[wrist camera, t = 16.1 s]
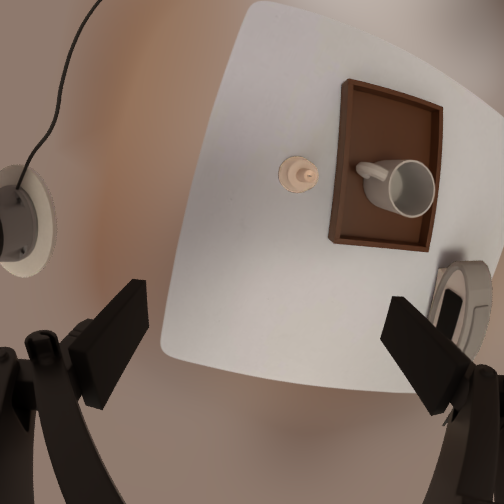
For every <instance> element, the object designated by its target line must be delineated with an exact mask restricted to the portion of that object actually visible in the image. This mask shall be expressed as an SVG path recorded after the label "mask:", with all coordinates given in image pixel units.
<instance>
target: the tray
mask: <svg viewBox="0 0 504 504" xmlns="http://www.w3.org/2000/svg"><path fill="white" fill-rule="evenodd" d="M442 139H443V107H442V106H439V105H436V104H434V103H431V102H428V101H425V100H423V99H420V98H417V97H414V96H411V95H408V94H405V93H402V92H398V91H395V90H392V89H388V88H385V87H381V86H377V85H374V84H370V83H366V82H362V81H357V80H353V79H347V80H346V81H345V82H344V83H343V84H342V87H341V109H340V126H339V140H338V153H337V164H336V175H335V185H334V194H333V203H332V211H331V219H330V227H329V234H328V238H329V239H330V240H331V241H332V242H333V243H335V244H346V245H357V246H368V247H379V248H389V249H400V250H410V251H420V252H429V247H430V242H431V237H432V231H433V225H434V219H435V213H436V206H437V198H438V190H439V181H440V171H441V158H442ZM383 160H416V161H419V162H421V163H423V164H424V165H425V166H426V167H427V168H428V169H429V171H430V172H431V174H432V176H433V179H434V183H435V196H434V200H433V202H432V204H431V206H430V208H429V209H428V210H427V211H426V213H424V214H423V215H421V216H419V217H415V218H409V217H406V216H403V215H400V214H397V213H394V212H391V211H388V210H385V209H382V208H380V207H377V206H375V205H374V204H372V203H371V202H370V201H369V199H368V198H367V196H366V194H365V192H364V187H363V180H364V177H362V176H361V175H359V174H358V173H357V171H356V165H358V164H359V163H360V162H369V163H376V162H378V161H383Z"/></svg>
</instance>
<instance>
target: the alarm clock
mask: <svg viewBox="0 0 504 504" xmlns="http://www.w3.org/2000/svg"><path fill="white" fill-rule="evenodd" d="M491 307H492V281H491V274H490V271H489V269H488V266H487V265H486V264H485V263H484V262H483V261H455V262H453V263H452V264H451V265H450V266H448V268H439V270H438V275H437V281H436V286H435V291H434V295H433V300H432V304H431V309H430V313H429V317H428V320H429V321H430V322H431V323H432V324H433V325H434V326H435V327H436V328H437V329H438V330H439V331H440V332H441V333H442V334H443V335H444V336H445V337H446V338H448V339H450V340H451V341H453V342H454V343H455V344H456V345H457V346H458V348H460V349H461V350H462V352H464V353H465V354H466V355H467V356H468V357H469V358H470V360H471V361H472V362H473V360H474V358H475V356H476V355H477V353H478V351H479V349H480V347H481V344H482V342H483V340H484V337H485V334H486V330H487V327H488V323H489V319H490V313H491Z"/></svg>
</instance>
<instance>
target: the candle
mask: <svg viewBox="0 0 504 504" xmlns="http://www.w3.org/2000/svg"><path fill="white" fill-rule="evenodd" d="M278 176H279V181H280V183H281V185H282V186H283V187H284V188H285V189H287V190H288V191H290V192H293V193H301V192H304V191H306V190H309V189H311V188H313V187H314V186H315V185H316V183H317V181H318V170H317V168H316V166H315V165H314V164H313V163H311V162H310V161H308V160H307V159H305V158H303V157H297V156H295V157H290V158H288V159H286V160H285V161H284V162H283V163H282V164H281V166H280V169H279V175H278Z"/></svg>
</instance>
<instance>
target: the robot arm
mask: <svg viewBox="0 0 504 504" xmlns="http://www.w3.org/2000/svg"><path fill="white" fill-rule="evenodd" d="M101 1H102V0H98V1H97V2H96V3H95V5H94V6H93V7H92V9H91V10H90V11H89V13H88V14H87V16H86V17H85V19H84V21H83V22H82V24H81V26H80V27H79V30H78V31H77V34H76V36H75V38H74V40H73V43H72V45H71V48H70V50H69V53H68V56H67V59H66V62H65V66H64V70H63V74H62V77H61V81H60V86H59V90H58V97H57V105H56V111H55V115H54V118H53V121H52V124H51V126H50V128H49V130H48V131H47V133H46V135H45V136H44V137H43V138H42V140H41V141H40V142H39V143H38V144H37V146H36V147H35V148H34V150H33V151H32V153H31V154H30V156H29V158H28V160H27V162H26V164H25V166H24V169H23V171H22V173H21V176H20V178H19V181H18V183H17V185H7V186H3V187H1V188H0V262H17V261H20V260H23V259H25V258H26V257H28V256H29V255H30V254H31V253H32V251H33V249H34V247H35V245H36V241H37V236H38V219H37V213H36V209H35V206H34V204H33V201H32V199H31V197H30V196H29V194H28V193H27V192H26V191H25V190H24V189H23V188H22V187H20V185H21V182H22V180H23V177H24V175H25V173H26V170H27V168H28V166H29V163H30V161H31V159H32V158H33V156H34V154H35V153H36V151H37V150H38V149H39V148H40V146H41V145H42V144H43V143H44V142H45V140H46V139H47V138H48V136H49V135H50V133H51V132H52V130H53V128H54V126H55V123H56V120H57V117H58V114H59V109H60V103H61V95H62V89H63V84H64V80H65V76H66V72H67V69H68V65H69V61H70V58H71V55H72V52H73V49H74V47H75V44H76V42H77V40H78V37H79V35H80V33H81V31H82V29H83V27H84V25H85V23H86V22H87V20H88V19H89V17H90V15H91V14H92V13H93V11H94V9H95V8H96V7H97V6H98V5H99V3H100V2H101ZM148 321H149V320H148V308H147V292H146V280H138V279H132V280H131V281H130V282H129V283H128V284H127V285H126V286H125V287H124V288H123V289H122V290H121V291H120V292H119V293H118V294H117V295H116V296H115V297H114V298H113V300H111V301H110V302H109V304H108V305H107V306H106V307H105V308H104V309H103V310H102V311H101V312H100V313H99V314H98V315H97V316H96V318H94V320H93V319H86V320H84V321H82V322H80V323H79V324H78V325H77V326H76V327H75V328H74V329H73V331H71V332H70V333H69V334H68V335H67V336H66V337H65V338H64V339H63V340H62V341H61V343H59V342H58V338H57V336H56V334H55V333H54V332H52V331H48V330H39V331H36V332H33V333H31V334H30V335H28V336H27V337H26V339H25V346H26V349H27V352H28V355H29V358H30V360H26V359H18V358H17V355H16V353H15V351H14V350H13V349H12V348H10V347H0V504H34V491H33V443H34V442H33V441H34V428H35V416H36V411H38V412H39V417H40V421H41V426H42V430H43V434H44V438H45V442H46V446H47V450H48V453H49V456H50V460H51V463H52V466H53V469H54V472H55V475H56V478H57V481H58V484H59V486H60V489H61V492H62V494H63V497H64V499H65V502H66V504H126V503H125V501H124V500H123V498H122V496H121V495H120V493H119V491H118V489H117V488H116V486H115V484H114V482H113V480H112V478H111V476H110V475H109V473H108V471H107V469H106V467H105V465H104V463H103V461H102V459H101V457H100V455H99V452H98V450H97V448H96V446H95V444H94V442H93V439H92V437H91V434H90V432H89V430H88V428H87V425H86V422H85V420H84V417H83V415H82V412H81V409H80V407H79V404H78V400H79V398H80V397H81V395H82V397H83V399H84V402H85V405H86V406H90V407H94V408H97V409H100V410H103V408H104V406H105V404H106V403H107V401H108V399H109V397H110V395H111V393H112V391H113V389H114V387H115V386H116V384H117V382H118V380H119V378H120V377H121V375H122V373H123V371H124V370H125V368H126V366H127V364H128V363H129V361H130V359H131V357H132V355H133V354H134V352H135V350H136V348H137V346H138V345H139V343H140V341H141V340H142V338H143V336H144V334H145V333H146V331H147V330H148V328H149V322H148ZM380 340H381V341H382V343H383V344H384V346H385V347H386V348H387V350H388V351H389V353H390V354H391V356H392V357H393V359H394V360H395V362H396V363H397V364H398V366H399V367H400V369H401V370H402V372H403V373H404V375H405V376H406V378H407V379H408V381H409V382H410V384H411V385H412V387H413V388H414V390H415V392H416V393H417V395H418V396H419V397H420V399H421V401H422V402H423V404H424V405H425V407H426V408H427V410H428V412H429V413H430V415H431V416H433V415H437V414H441V413H444V411H445V410H446V408H447V406H448V405H449V403H451V404H452V406H453V409H452V411H451V412H450V414H449V415H448V417H447V419H446V420H445V422H444V423H443V426H445V424H446V423H448V424H447V428H446V433H445V437H444V441H443V444H442V448H441V452H440V456H439V459H438V462H437V465H436V468H435V471H434V474H433V478H432V480H431V483H430V486H429V488H428V491H427V494H426V497H425V499H424V501H423V504H504V375H497V372H496V371H495V370H494V369H493V368H491V367H489V366H487V365H483V364H479V365H477V366H476V365H475V364H474V363H473V362H472V361H471V360H470V358H469V357H468V356H467V355H466V354H465V353H464V352H462V350H461V349H460V348H458V346H457V345H456V344H455V343H454V342H453V341H451V340H450V339H448V338H446V337H445V336H444V335H443V334H442V333H441V332H440V331H439V330H438V329H437V328H436V327H435V326H434V325H433V324H432V323H431V322H430V321H429V320H428V319H427V318H426V317H425V316H424V315H423V314H421V313H420V312H419V311H418V310H417V309H416V308H415V307H414V306H413V305H412V304H411V303H410V302H409V301H408V300H406V299H405V298H404V297H398V296H392V299H391V303H390V306H389V310H388V314H387V317H386V321H385V324H384V328H383V331H382V334H381V338H380ZM493 493H494V501H495V502H493Z"/></svg>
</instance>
